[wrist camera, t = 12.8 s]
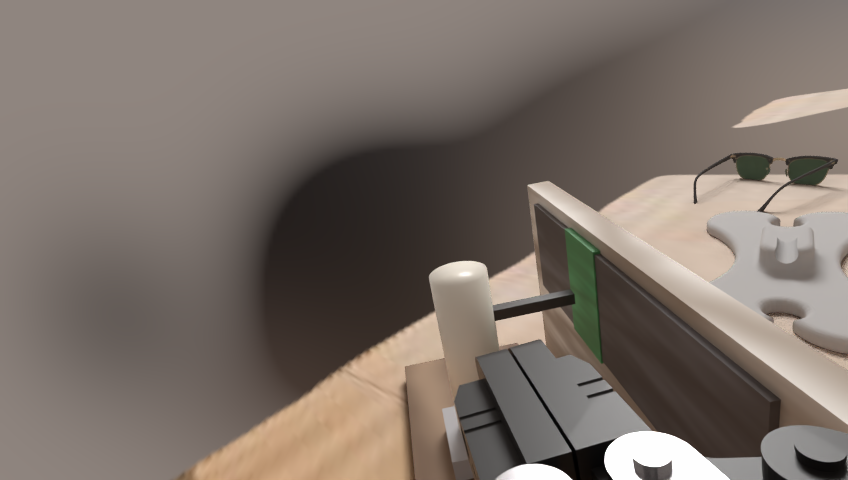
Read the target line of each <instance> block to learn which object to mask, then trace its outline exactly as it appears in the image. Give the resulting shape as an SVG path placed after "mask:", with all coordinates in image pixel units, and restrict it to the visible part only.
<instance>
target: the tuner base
mask: <svg viewBox="0 0 848 480" xmlns="http://www.w3.org/2000/svg"><path fill="white" fill-rule="evenodd" d="M527 187H528V196H529V203H530V213H531V220H532V229H533V237H534V246H535V255H536V263H537V272H538V280H539V288H540V295H545V294H550V293H555V292H559V291H564V290H569V289H571V290H572V292H573V293H574V294H575V304H573V305H568V306H563V307H559V308H554V309H549V310H544V311H542V314H543V322H544V331H545V339H546V347H547V348H548V349H549V350H550V352H551V353H552V354H553V355H554V357H555V358H560V357H563V356H567V355H572V356H574V357H576V358H579V359H581V360H583V361H585V362H587V363H590V364H591V365H592V367H593V368H594V369H595V370H596V371H597V372H598V373H599V374H600V375H601V376H602V378H603V380H605V381H606V382H607V383H608V384H609V385H610V386H611V387H612V388H613V391H614V392H615V391H616V392H617V393H618V395H619V396H620V397H621V398H622V399H623V400H624V401H625V402H626V403H627V404H628V405H629V406H630V408H631V409H632V410H633V411H634V412H635V413H636V414H637V415H638V416H639V417H640V418H641V419H642V420H643V422H644V423H645V424H646V425H647V426H648V427H649V428H650V429H651V430H652V431H653V432H658V433H663V434H667V435H670V436H673V437H676V438H678V439H680V440H682V441H684V442H686V443H687V444H688V445H690V446H691V447H692V448H694V449H695V450H696V451H697V452H698V453H699V454H700V455H702V456H703V457H708V458H745V457H761V443H762V440H763V439H764V437H765V436H766V435H767V434H768V433H770V432H771V431H773V430H775V429H778V428H781V427H786V426H793V425H809V426H817V427H823V428H828V429H832V430H836V431H840V432H844V433H848V370H847V369H845V368H844V367H842V366H840V365H839V364H837V363H836V362H834V361H832V360H831V359H829V358H828V357H826V356H825V355H823V354H821V353H820V352H818V351H817V350H815V349H813V348H812V347H810V346H809V345H807V344H806V343H804V342H802V341H801V340H799V339H798V338H796V337H794V336H793V335H791V334H790V333H788V332H786V331H785V330H783V329H782V328H780V327H779V326H777V325H775V324H774V323H772V322H771V321H769V320H767V319H766V318H764V317H763V316H761V315H760V314H758V313H756V312H755V311H753V310H752V309H750V308H748V307H747V306H745V305H744V304H742V303H741V302H739V301H737V300H736V299H734V298H733V297H731V296H729V295H728V294H726V293H725V292H723V291H722V290H720V289H718V288H717V287H715V286H714V285H712V284H710V283H709V282H707V281H706V280H704V279H703V278H701V277H699V276H698V275H696V274H695V273H693V272H691V271H690V270H688V269H687V268H685V267H684V266H682V265H680V264H679V263H677V262H676V261H674V260H672V259H671V258H669V257H668V256H666V255H665V254H663V253H661V252H660V251H658V250H657V249H655V248H653V247H652V246H650V245H649V244H647V243H646V242H644V241H642V240H641V239H639V238H638V237H636V236H634V235H633V234H631V233H630V232H628V231H626V230H625V229H623V228H622V227H620V226H619V225H617V224H615V223H614V222H612V221H611V220H609V219H607V218H606V217H604V216H603V215H601V214H600V213H598V212H596V211H595V210H593V209H592V208H590V207H588V206H587V205H585V204H584V203H582V202H581V201H579V200H577V199H576V198H574V197H573V196H571V195H569V194H568V193H566V192H565V191H563V190H562V189H560V188H558V187H557V186H555V185H554V184H552V183H550V182H549V181H546V182H541V183H536V184H531V185H527ZM517 345H518V343H514V344H509V345H505V346H500V347H499V350H503V349H507V350H508V348H510V347H514V346H517ZM405 374H406V384H407V395H408V406H409V417H410V428H411V439H412V450H413V461H414V472H415V480H456V478H455V473H454V469H453V464H452V459H451V453H450V448H449V443H448V438H447V433H446V427H445V422H444V417H443V412H442V409H443V408H448V407H453V406H454V401H453V396H452V391H451V386H450V381H449V376H448V371H447V366H446V361H445V358H443V359H439V360H434V361H429V362H424V363H420V364H415V365H410V366H405ZM468 480H475V479H474V478H472V479H468Z"/></svg>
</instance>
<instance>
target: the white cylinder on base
mask: <svg viewBox="0 0 848 480" xmlns="http://www.w3.org/2000/svg"><path fill="white" fill-rule="evenodd" d="M429 281H430V286H431V291H432V296H433V301H434V306H435V311H436V316H437V321H438V326H439V331H440V336H441V341H442V346H443V351H444V356H445V361H446V366H447V371H448V376H449V381H450V386H451V391H452V396H453V401H454V400H455V397H456V394H457V391H458V387H459V385H463V384H466V383H470V382H473V381H477V380H479V377H478V372H477V368H476V363H475V357H478V356H481V355H485V354H489V353H492V352H496V351H500V350H499V344H498V337H497V331H496V325H495V321H497V320H502V319H506V318H511V317H516V316H521V315H525V314H530V313H535V312H540V311H544V310H549V309H554V308H559V307H563V306H568V305H573V304H575V294H574V293H573V292H572V290H571V289H569V290H564V291H559V292H555V293H550V294H545V295H540V296H535V297H531V298H526V299H521V300H516V301H512V302H507V303H502V304H497V305H492V299H491V292H490V286H489V279H488V273H487V268H486V266H485V265H484V264H482V263H479V262H474V261H461V262H454V263H450V264H446V265H443V266H441V267H439V268H437V269H435V270H434V271H433V272H432V273H431V274H430V276H429ZM442 412H443V417H444V422H445V427H446V433H447V438H448V443H449V448H450V453H451V459H452V464H453V469H454V473H455V478H456V480H468V479H472V478H474V476H473V473H472V470H471V466H470V463H469V460H468V456H467V452H466V448H465V444H464V440H463V436H462V431H461V427H460V423H459V419H458V415H457V411H456V407H455V403H454V406H453V407H448V408H443V409H442Z"/></svg>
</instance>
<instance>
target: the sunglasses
mask: <svg viewBox="0 0 848 480" xmlns="http://www.w3.org/2000/svg"><path fill="white" fill-rule="evenodd" d="M730 158H732V159H733V161H734V163H736V168H737V172H738V174H739V175H740V177H742V178H743V179H754V180H763V179H764V178H765V177H766V176H767V175H768V174H769V172H770V164H772V162H773V161H775V160H783V161H785V162H786V165H788V170H787V169H786V170H785V172H786V176H789V178H790V180H791V181H790V182H788V183H786V184H785V185H783V186H782V187H780V188H779V189H778V190H777V191H776V192H775V193H774V194H773V195H772V196H771V197H770V198H769V199H768V200H767V202H766V203H765V204H764V205H763V206H762V207H761V208H760V209H759V210H758V211H757V212H762V211H764V209H765V208H766V206H767V205H768V204H769V202H770V201H771V200H772V198H773V197H774V196H775V195H776V194H777V193H778V192H779V191H780V190H782V189H783V188H784V187H786V186H787V185H789V184H791V183H796V184H809V185H818V184H819V183H821V182H822V181H823V180H824V179H825V177H826V175H827V173H828V171H829V169H832V168H833V166H834V165H835V164H837V162H838V159H834V158H829V157H821V156H799V157H793V158H789V159H785V158H773V157H770V156H768V155H764V154H757V153H735V154H730V155H729V156H727V157H725V158H723V159H721V160H720V161H718V162H716V163H715V164H713V165H711V166H710V167H708V168H707V169H705V170H704V171H702V172H701V173H700V174H699V175H698V176H697V177H696V178H695V181H694V204H696V203H697V197H696V181H697V179H698V178H699V177H700V176H701V175H702V174H703V173H705V172H706V171H708V170H710V169H712V168H713V167H715V166H717V165H719V164H721V163H722V162H725V161H727V160H729V159H730ZM787 171H788V175H787Z"/></svg>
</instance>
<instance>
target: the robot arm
mask: <svg viewBox="0 0 848 480" xmlns="http://www.w3.org/2000/svg"><path fill="white" fill-rule="evenodd" d="M475 363H476V368H477V372H478V377H479V380H477V381H473V382H470V383H466V384H463V385H459V387H458V391H457V394H456V397H455V400H454V403H455V407H456V411H457V415H458V419H459V423H460V427H461V431H462V436H463V440H464V444H465V448H466V452H467V456H468V460H469V463H470V466H471V470H472V473H473V476H474V479H475V480H848V433H844V432H840V431H836V430H832V429H828V428H823V427H817V426H809V425H793V426H786V427H781V428H778V429H775V430H773V431H771V432H770V433H768V434H767V435H766V436H765V437H764V439H763V440H762V443H761V457H745V458H708V457H703V456H702V455H700V454H699V453H698V452H697V451H696V450H695V449H694V448H692V447H691V446H690V445H688V444H687V443H686V442H684V441H682V440H680V439H678V438H676V437H673V436H670V435H667V434H663V433H658V432H653V431H652V430H651V429H650V428H649V427H648V426H647V425H646V424H645V423H644V422H643V420H642V419H641V418H640V417H639V416H638V415H637V414H636V413H635V412H634V411H633V410H632V409H631V408H630V406H629V405H628V404H627V403H626V402H625V401H624V400H623V399H622V398H621V397H620V396H619V395H618V393H617V392H616V391H615V392H614V391H613V388H612V387H611V386H610V385H609V384H608V383H607V382H606V381H605V380H603V378H602V376H601V375H600V374H599V373H598V372H597V371H596V370H595V369H594V368H593V367H592V365H591V364H590V363H587V362H585V361H583V360H581V359H579V358H576V357H574V356H572V355H567V356H563V357H560V358H555V357H554V355H553V354H552V353H551V352H550V350H549V349H548V348H547V347H546V345H545V344H544V343H543V342H542V341H541V340H536V341H532V342H528V343H525V344H521V345H517V346H514V347H510V348H508V350H507V349H503V350H500V351H496V352H492V353H489V354H485V355H481V356H478V357H475Z"/></svg>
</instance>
